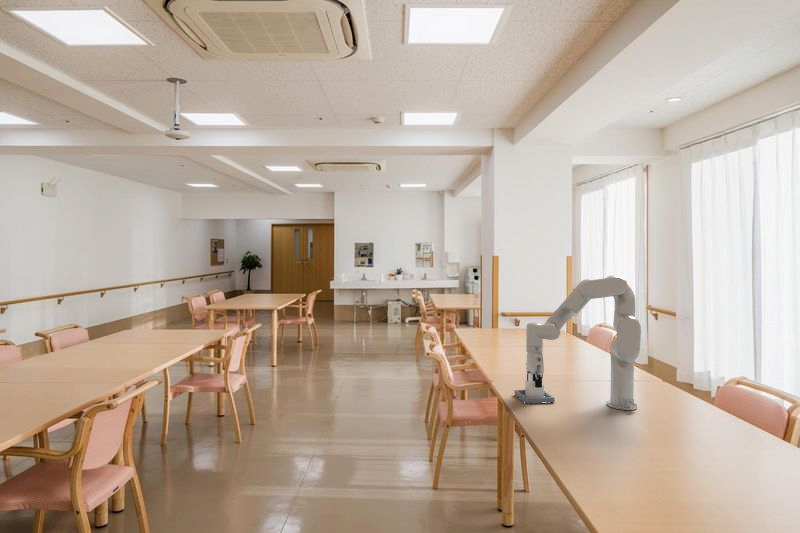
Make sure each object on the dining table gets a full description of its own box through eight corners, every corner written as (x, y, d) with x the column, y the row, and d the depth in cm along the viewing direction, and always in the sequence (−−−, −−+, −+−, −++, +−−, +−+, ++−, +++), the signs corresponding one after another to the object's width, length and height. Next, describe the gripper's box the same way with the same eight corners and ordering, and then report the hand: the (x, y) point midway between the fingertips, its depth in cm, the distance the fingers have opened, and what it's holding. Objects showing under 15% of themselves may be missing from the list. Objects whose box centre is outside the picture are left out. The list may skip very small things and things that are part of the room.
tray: (554, 403, 210) (554, 397, 210) (525, 404, 209) (525, 398, 209) (541, 394, 224) (541, 389, 224) (514, 395, 223) (514, 390, 223)
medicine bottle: (539, 395, 220) (540, 371, 220) (544, 400, 213) (544, 374, 213) (525, 395, 220) (525, 370, 220) (528, 399, 213) (528, 374, 213)
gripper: (550, 352, 208) (549, 389, 208) (534, 345, 225) (534, 379, 225) (534, 352, 207) (534, 390, 207) (520, 345, 224) (519, 380, 224)
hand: (534, 384), depth 216 cm, fingers open, 9 cm apart
